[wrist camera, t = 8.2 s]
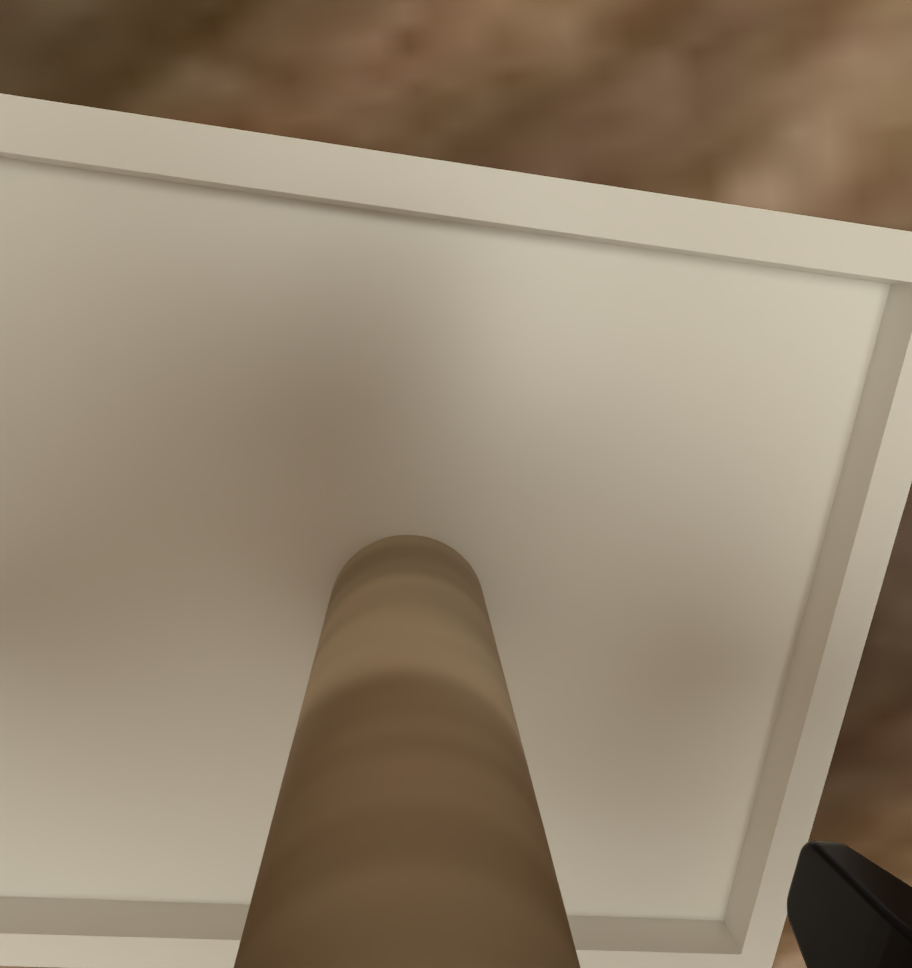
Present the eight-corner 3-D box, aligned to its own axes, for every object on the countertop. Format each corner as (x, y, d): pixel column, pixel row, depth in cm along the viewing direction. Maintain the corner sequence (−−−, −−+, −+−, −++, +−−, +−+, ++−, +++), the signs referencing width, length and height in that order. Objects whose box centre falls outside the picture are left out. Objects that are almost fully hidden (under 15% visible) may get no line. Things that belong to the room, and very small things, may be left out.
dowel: (473, 684, 15) (636, 1628, 4) (323, 671, 15) (102, 1646, 4) (493, 542, 14) (746, 1249, 4) (337, 527, 14) (115, 1240, 3)
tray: (736, 928, 18) (766, 984, 17) (-51, 902, 16) (-94, 963, 15) (920, 246, 14) (980, 242, 13) (-92, 95, 12) (-157, 69, 11)
